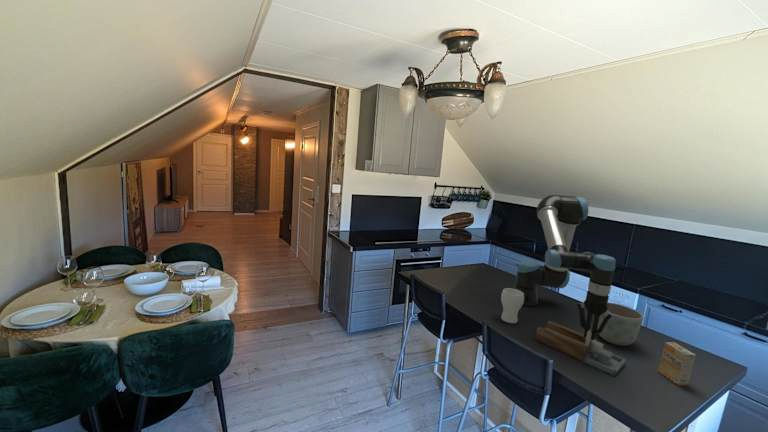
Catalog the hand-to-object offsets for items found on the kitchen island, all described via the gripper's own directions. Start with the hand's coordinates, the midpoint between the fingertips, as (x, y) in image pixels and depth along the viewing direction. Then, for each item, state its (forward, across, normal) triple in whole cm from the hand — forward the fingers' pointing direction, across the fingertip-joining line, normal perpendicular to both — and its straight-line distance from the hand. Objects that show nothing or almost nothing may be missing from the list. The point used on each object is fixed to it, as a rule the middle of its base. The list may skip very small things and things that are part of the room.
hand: (587, 345), depth 137 cm
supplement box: (+5, +26, +12) cm, 29 cm away
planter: (+5, +3, +26) cm, 27 cm away
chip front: (+2, +5, 0) cm, 5 cm away
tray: (+4, +7, 0) cm, 8 cm away
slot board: (+4, -9, 0) cm, 10 cm away
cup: (+5, -36, +1) cm, 36 cm away
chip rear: (+2, +3, 0) cm, 3 cm away
